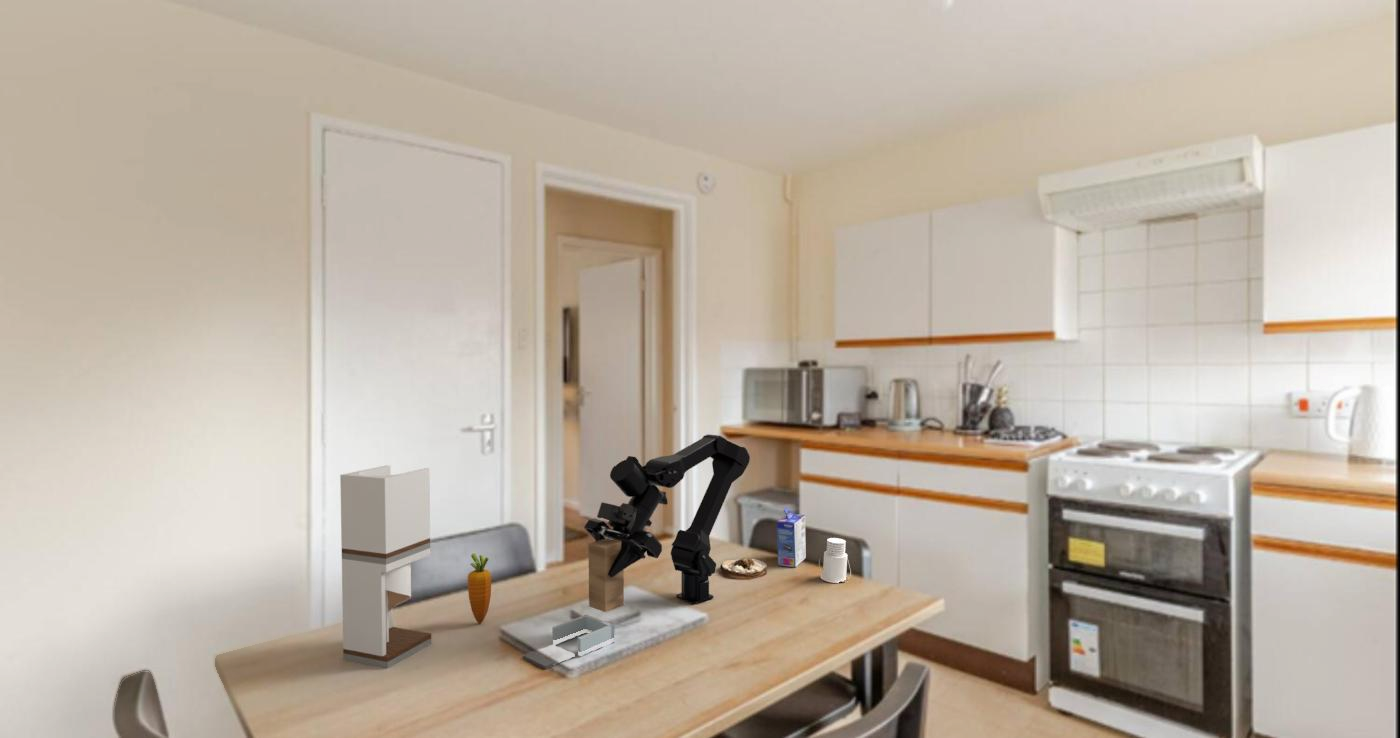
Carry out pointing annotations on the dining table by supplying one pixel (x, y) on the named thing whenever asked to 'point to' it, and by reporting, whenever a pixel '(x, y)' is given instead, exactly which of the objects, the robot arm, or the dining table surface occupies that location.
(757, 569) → the cream topped pie
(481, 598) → the carrot
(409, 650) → the tall white cubby shelf
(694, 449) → the robot arm
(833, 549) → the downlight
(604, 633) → the sleeve
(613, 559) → the walnut block
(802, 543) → the ink cartridge box
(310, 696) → the dining table surface
